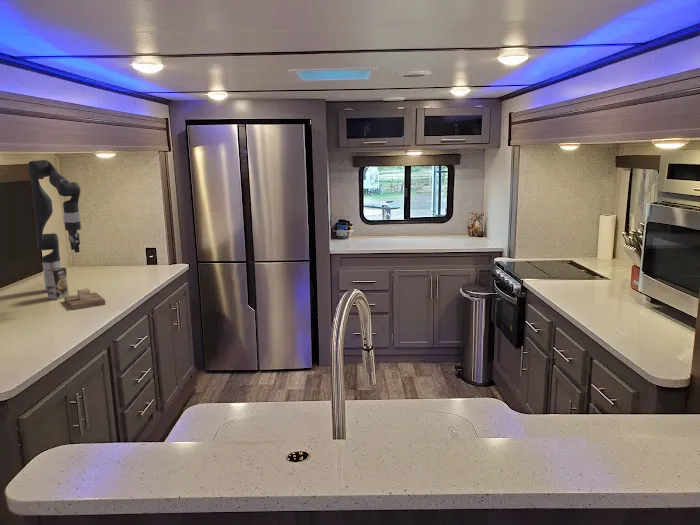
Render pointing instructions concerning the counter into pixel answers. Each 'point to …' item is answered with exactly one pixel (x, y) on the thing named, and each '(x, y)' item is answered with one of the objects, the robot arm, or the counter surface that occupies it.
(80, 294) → the maple cube
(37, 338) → the counter surface
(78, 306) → the walnut base
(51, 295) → the coffee box
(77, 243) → the robot arm
